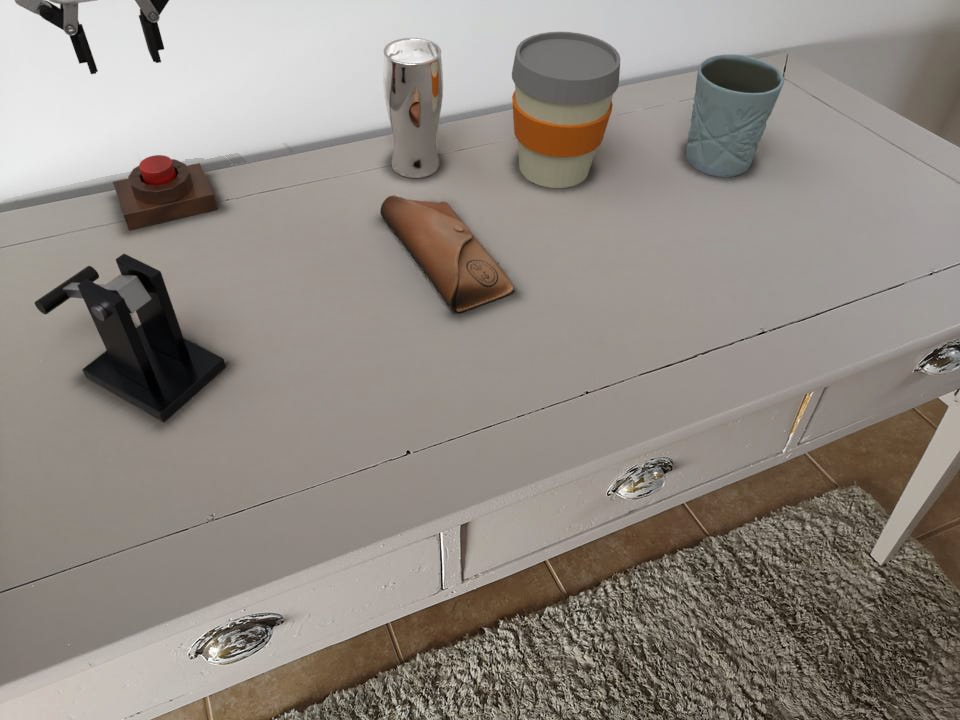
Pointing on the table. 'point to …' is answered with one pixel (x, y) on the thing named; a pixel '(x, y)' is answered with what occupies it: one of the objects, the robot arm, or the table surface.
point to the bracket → (146, 346)
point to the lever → (120, 285)
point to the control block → (165, 196)
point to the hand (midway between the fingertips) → (123, 60)
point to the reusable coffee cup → (562, 104)
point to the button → (157, 170)
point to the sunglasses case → (447, 252)
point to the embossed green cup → (730, 112)
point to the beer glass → (413, 103)
